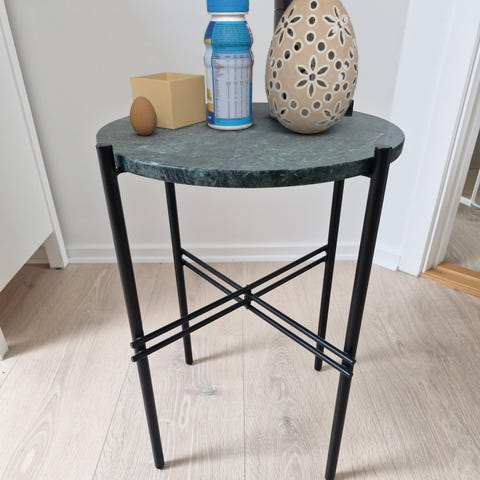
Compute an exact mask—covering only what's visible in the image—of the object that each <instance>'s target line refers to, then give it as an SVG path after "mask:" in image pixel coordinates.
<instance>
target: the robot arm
mask: <svg viewBox="0 0 480 480" xmlns="http://www.w3.org/2000/svg"><path fill="white" fill-rule="evenodd" d="M292 1H293V0H273V32H272V33H273V35H274V32H275V30H276V28H277V25H278V23H279V21H280V19H281V18H282V16H283V14H284V12H285V11H286V9H287V8H288V7H289V5H290V4H291V3H292ZM314 7H315V8H316V7H317V3H316V2H315V4H314ZM300 18H301V17H299V18H298V19H297V21H298V20H299V19H300ZM288 19H289V16H288ZM314 21H315V17H314ZM294 22H295V21H293V20H292V21H291V22H290V23H294ZM286 27H287V26H285V27H284V28H286ZM283 32H284V30H283ZM283 32H282V33H283ZM288 34H289V35H291V29H289V31H288ZM273 35H272V36H273ZM313 35H314V34H313ZM306 38H307V37H306ZM307 41H309V40H308V38H307ZM294 49H295V50H296V51H298V49H299V47H298V45H294ZM289 57H290V54H287V55H286V57H285V59H288V58H289ZM273 61H274V60H272V62H273ZM278 61H281V60H278ZM314 64H316V63H314ZM281 66H282V65H281ZM312 67H313V65H312V63H311V69H312ZM305 71H306V70H305V69H301V70H300V72H301V73H302V74H303V73H304V72H305ZM317 74H318V75H321V74H322V73H321V71H320V70H319V71H318V73H317ZM309 80H311V74H310V75H309ZM275 87H276V84H275ZM310 96H312V95H310ZM283 98H284V100H286V93H285V92H283ZM329 100H330V98H328V101H329ZM292 103H294V101H292V102H291V103H290V104H292ZM338 107H339V106H338ZM336 108H337V107H336ZM284 111H285V109H284V110H282V111H281V114H283V113H284ZM269 112H270V114H269V115H270V118H271V119H273V120H275V121H276V120H277V119H276V117H275V116H274V114H273V112H272V110H271V109H270V111H269ZM277 121H278V120H277Z"/></svg>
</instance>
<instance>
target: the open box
mask: <svg viewBox="0 0 480 480" xmlns="http://www.w3.org/2000/svg"><path fill="white" fill-rule="evenodd" d="M129 79H130V87H131V92H132V93H131V95H132V102H133V101H134V100H135V99H136V98H137V97H139V96H143V97H145V98H147V99H148V100H149V101H150V102H151V104H152V106H153V107H154V109H155V112H156V115H157V125H156V128H163V129H169V130H176V129H181V128H184V127H188V126H191V125H194V124H198V123H201V122H205V121H207V103H206V102H207V98H206V76H205V75H204V74H194V73H193V74H192V73H183V72H182V73H181V72H170V71H164V72H156V73H150V74H143V75H138V76H131V77H130V78H129Z"/></svg>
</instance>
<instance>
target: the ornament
mask: <svg viewBox="0 0 480 480" xmlns="http://www.w3.org/2000/svg"><path fill="white" fill-rule="evenodd" d="M315 2H316V3H317V7H316V8H315V7H314V4H315ZM288 16H289V19H288ZM299 17H301V18H300V19H299V20H298V21H297V19H298V18H299ZM314 17H315V21H314ZM345 17H346V20H345ZM332 19H333V20H332ZM292 20H293V21H295V22H294V23H290V22H291V21H292ZM285 26H287V27H286V28H284V27H285ZM289 29H291V35H289V34H288V31H289ZM334 29H336V31H335V32H333V31H334ZM283 30H284V32H283ZM273 32H274V31H273ZM282 32H283V33H282ZM313 34H314V35H313ZM306 37H307V38H308V40H309V41H307V38H306ZM294 45H298V47H299V49H298V51H296V50H295V49H294ZM358 51H359V50H358V44H357V39H356V33H355V29H354V26H353V23H352V21H351V18H350V16H349V13H348V11H347V9H346V8H345V6H344V4H343V3H342V1H341V0H293V1H292V3H291V4H290V5H289V7H288V8H287V9H286V11H285V12H284V14H283V16H282V18H281V19H280V21H279V23H278V25H277V28H276V30H275V32H274V35H272V38H271V41H270V44H269V48H268V52H267V54H266V55H267V56H266V61H265V71H264V72H265V73H264V87H265V95H266V100H267V103H268V106H269V109H270V111H271V110H272V112H273V114H274V116H275V117H276V119H277V121H278V122H279V123H280V125H282V126H284V127H285V128H286V129H288V130H290V131H292V132H296V133H299V134H305V135H307V134H309V135H311V134H317V133H320V132H323V131H325V130H328V129H329V128H331V127H333V126H335V125H336V124H337V123H338V122H339V121H340V120H341V119H342V118H343V117H344V115H345V114H346V112H347V111H348V109H349V107H350V105H351V103H352V101H353V98H354V94H355V91H356V89H357V82H358V75H359V52H358ZM287 54H290V57H289V58H288V59H285V57H286V55H287ZM273 60H274V61H273ZM278 60H281V61H278ZM311 63H312V65H313V67H312V69H311ZM314 63H316V64H314ZM281 65H282V66H281ZM345 66H346V67H345ZM301 69H305V70H306V71H305V72H304V73H303V74H302V73H301V72H300V70H301ZM319 70H320V71H321V73H322V74H321V75H318V74H317V73H318V71H319ZM310 74H311V80H309V75H310ZM341 75H342V78H341ZM275 84H276V87H275ZM283 92H285V93H286V100H284V98H283ZM310 95H312V96H310ZM328 98H330V100H329V101H328ZM292 101H294V103H292V104H290V103H291V102H292ZM338 106H339V107H338ZM336 107H337V108H336ZM284 109H285V111H284V113H283V114H281V111H282V110H284ZM325 111H326V112H325ZM329 115H330V116H329ZM276 119H275V120H276Z"/></svg>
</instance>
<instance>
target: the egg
mask: <svg viewBox="0 0 480 480" xmlns="http://www.w3.org/2000/svg"><path fill="white" fill-rule="evenodd" d="M129 123H130V126H131V127H132V129H133V130H134V132H136V133H137V134H138V135H139V136H144V137H146V136H147V137H148V136H149V135H151V134H152V133H153V132H154V131H155V129H157V127H156V125H157V115H156V112H155V109H154V107H153V106H152V104H151V102H150V101H149V100H148V99H147V98H145V97H143V96H139V97H137V98H136V99H135V100H134V101H133V100H132V103H131V106H130V109H129Z"/></svg>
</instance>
